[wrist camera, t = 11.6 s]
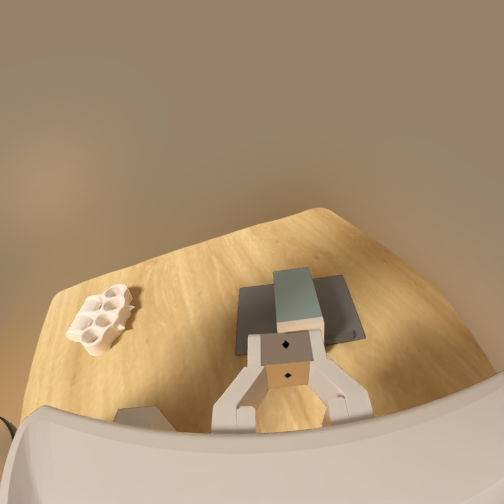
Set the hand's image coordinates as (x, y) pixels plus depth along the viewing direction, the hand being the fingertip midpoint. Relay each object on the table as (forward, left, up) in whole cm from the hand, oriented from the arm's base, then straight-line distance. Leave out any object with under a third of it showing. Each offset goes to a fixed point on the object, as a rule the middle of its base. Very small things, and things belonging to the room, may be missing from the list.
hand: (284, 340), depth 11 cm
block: (+2, +16, -21) cm, 26 cm away
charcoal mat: (+2, +26, -25) cm, 37 cm away
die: (-18, +2, -25) cm, 31 cm away
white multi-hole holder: (-36, +27, -26) cm, 52 cm away
